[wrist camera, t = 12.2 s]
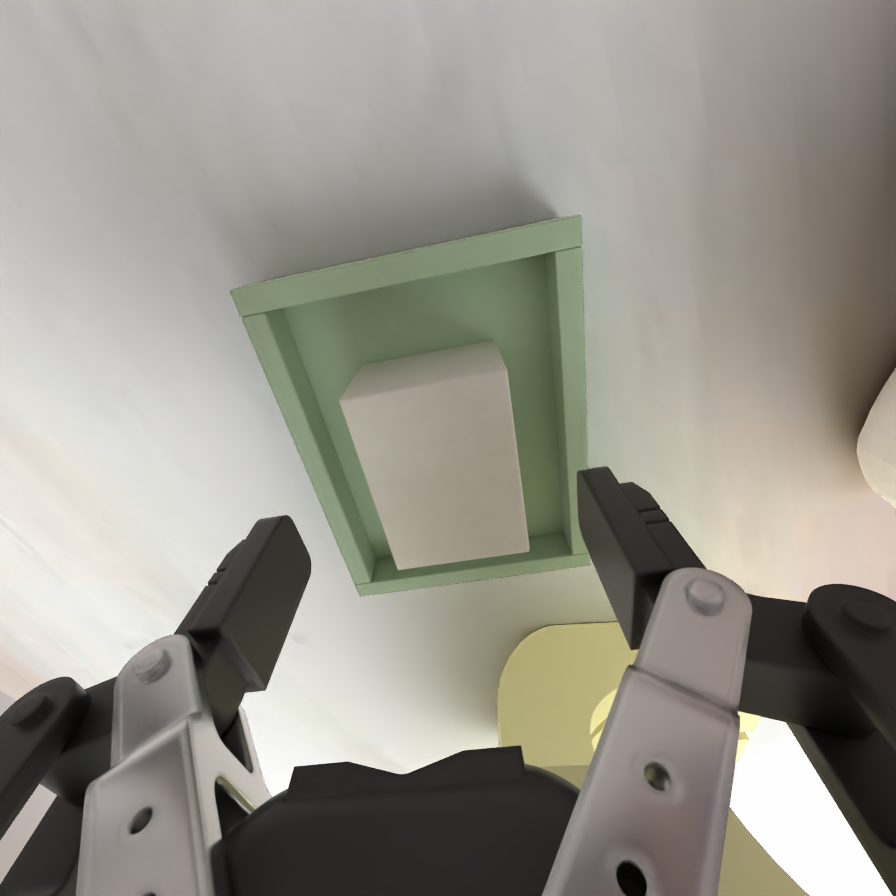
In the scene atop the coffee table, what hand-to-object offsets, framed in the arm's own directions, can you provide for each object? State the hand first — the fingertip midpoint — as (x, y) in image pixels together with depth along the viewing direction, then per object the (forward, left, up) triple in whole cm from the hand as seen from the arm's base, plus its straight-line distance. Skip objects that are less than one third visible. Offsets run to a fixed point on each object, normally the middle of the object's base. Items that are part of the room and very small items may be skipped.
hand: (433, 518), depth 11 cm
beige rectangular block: (0, 0, -6) cm, 6 cm away
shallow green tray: (0, 0, -6) cm, 6 cm away
